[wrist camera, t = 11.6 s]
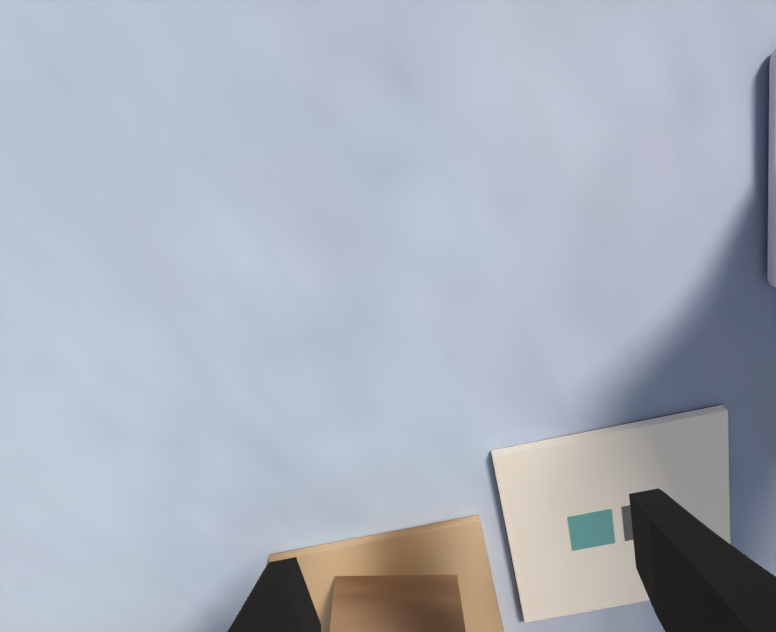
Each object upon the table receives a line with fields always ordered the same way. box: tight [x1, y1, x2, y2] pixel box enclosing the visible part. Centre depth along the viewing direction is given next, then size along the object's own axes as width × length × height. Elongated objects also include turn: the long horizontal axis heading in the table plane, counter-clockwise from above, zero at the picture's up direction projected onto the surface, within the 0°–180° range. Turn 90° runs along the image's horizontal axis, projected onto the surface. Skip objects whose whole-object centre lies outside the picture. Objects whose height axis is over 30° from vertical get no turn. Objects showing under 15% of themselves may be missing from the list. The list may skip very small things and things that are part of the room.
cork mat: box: [268, 515, 504, 632], centre depth 26 cm, size 9×9×1 cm
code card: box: [491, 405, 730, 623], centre depth 24 cm, size 9×9×1 cm
